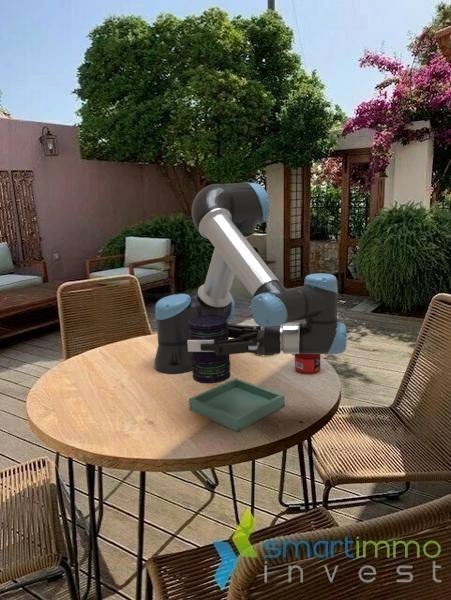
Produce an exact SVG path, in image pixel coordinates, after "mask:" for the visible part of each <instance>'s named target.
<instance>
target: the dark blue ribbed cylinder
mask: <svg viewBox="0 0 451 600" xmlns="http://www.w3.org/2000/svg"><path fill="white" fill-rule="evenodd" d="M228 324H229V323H227V318H226V317H224V316H220V315H204V316H198V317H194V318H192V319H190V320H189V325H190V326H189V330H190V331H189V335H190V340H214V339H216V340H217V341H222V340H228V339H230V338H229V336H228ZM220 348H221V347H220ZM191 359H192V360H191V361H192V370H191V371H192V379H193V381H195V382H197V383H199V384H205V385H206V384H207V385H210V384H218V383H222V382H226V381H227V380H228V379H229V378H230V377H231V359H230V354H228V355H216V353H215V352H192V358H191Z"/></svg>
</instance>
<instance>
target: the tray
mask: <svg viewBox="0 0 451 600" xmlns="http://www.w3.org/2000/svg"><path fill="white" fill-rule="evenodd" d="M188 405H189V407H188V408H189V410H190V411H193V412H194V413H197V414H199V415H201V416H204V417H205V418H207V419H209V420H211V421H214V422H215V423H218V424H220V425H221V426H225V427H226V428H229V429H231V430H232V431H235V432H236V433H237V432H240V431H242V430H244V429H245V428H247V427H248V426H251V425H252V424H255V423H256V422H258V421H259V420H261V419H263V418H265V417H267V416H268V415H270V414H272V413H274V412H276V411H277V410H279V409H281V408H284V407H285V394H282V393H279V392H277V391H273V390H271V389H268V388H265V387H262V386H260V385H257V384H253V383H251V382H248V381H247V380H243V379H239V378H238V377H236V378H233V379H230V380H228V381H225V382H224V383H221V384H220V385H217V386H215V387H213V388H210V389H208V390H206V391H203V392H201V393H199V394H197V395H195V396H192V397H190V398H188Z"/></svg>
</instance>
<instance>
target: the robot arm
mask: <svg viewBox="0 0 451 600" xmlns="http://www.w3.org/2000/svg"><path fill="white" fill-rule="evenodd" d="M270 210H271V205H270V200H269V195H268V193H267V191H266V190H265V188H264V187H263V186H262V185H261V184H260V183H257V182H247V181H245V182H238V183H237V182H236V183H233V182H232V183H212V184H209V185H207V186H204V187H203V188H202V189H200V191H198V193H196V196H195V198H194V199H193V202H192V205H191V218H192V222H193V224H194V226H195V229H196V231H197V232H198V233H199V234H200V235H201V237H202V238H204V239H208V240H209V241H210V243H211V244H212V245H213V247H214V249H213V253H212V255H211V260H210V263H209V267H208V271H207V274H206V278H205V282H204V284H202V285H200V286H199V287H198V290H197V293H196V295H195V296H190V295H189V294H186V293H178V294H171V295H167V296H165V297H162V298H160V299H159V300H158V301H157V302H156V303H155V305H154V306H155V311H154V312H155V314H154V318H155V321H156V322H155V324H156V334H157V350H156V354H155V359H154V368H155V370H156V371H158V372H160V373H163V374H181V373H187V372H190V371H192V361H191V360H192V359H191V358H192V352H215V353H216V355H228V354H229V355H238V354H247V353H249V354H250V353H251V354H255V353H257V348H260V347H264V348H265V352H266V353H267V354H274V355H280V354H281V352H282V353H283V354H285V355H291V356H293V357H295V354H299V349H300V354H320V355H337V354H338V355H339V354H344V352H346V350H347V344H348V343H347V342H348V341H347V327H346V324H345V323H343V322H339V321H338V295H339V292H338V281H337V277H336V276H335V275H333V274H330V273H310V274H308V275H306V276H305V278H304V283H303V285H302V286H296V287H292V288H291V287H290V288H286V287H285V286H284V285H283V284H282V283H281V280H279V279H278V277H277V276H276V275H275V273H274V272H273V271H272V270H271V268H270V267H269V266H268V265H267V263H266V262H265V261H264V260H263V259H262V257H261V256H260V255H259V254H258V252H257V251H256V250H255V248H254V247H253V246H252V245H251V243H250V242H249V240H247V239H248V238H250V237H252V236H253V235H254V234H255V230H256V228H257V225H258V224H260V225H261V224H263V223H265V222H267V220H268V219H269V216H270V214H271V213H270ZM235 277H236V278H237V280H238V281H239V282H240V284H241V285H242V287H243V288H244V289H245V291H246V292H247V294H248V295H249V296H250V298H251V299H252V300H251V304H250V312H251V314H252V316H253V317H252V319H253V321H254V322H255V323H256V324H257V325H241V324H231V323H230V322H231V321H232V320H233V318H234V316H235V313H236V311H235V305H236V304H235V300H234V298H233V296H232V293H231V292H230V291H231V288H232V285H233V282H234V279H235ZM204 315H220V316H224V317H226V318H227V324H228V336H229V338H228V340H222V341H217V340H216V339H214V340H190V335H189V331H190V330H189V326H190V325H189V320H190V319H192V318H194V317H198V316H204ZM304 319H305V322H295V321H300V320H301V321H302V320H304ZM229 323H230V324H229ZM261 327H265V331H263V330H261ZM220 347H221V348H220Z"/></svg>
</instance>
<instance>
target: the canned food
mask: <svg viewBox="0 0 451 600" xmlns="http://www.w3.org/2000/svg"><path fill="white" fill-rule="evenodd" d="M294 369H295V371H296V372H298V373H300V374H303V375H314V374H317V373H319V372H320V370H321V354H300V349H299V354H295V355H294Z"/></svg>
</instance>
